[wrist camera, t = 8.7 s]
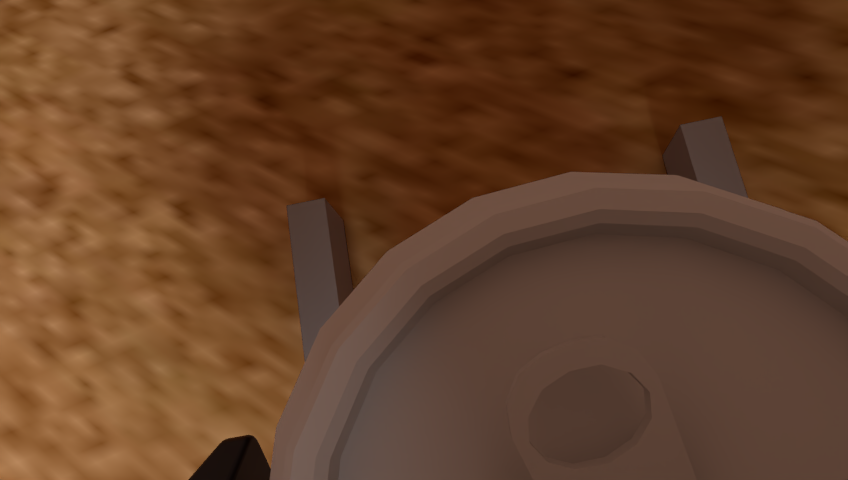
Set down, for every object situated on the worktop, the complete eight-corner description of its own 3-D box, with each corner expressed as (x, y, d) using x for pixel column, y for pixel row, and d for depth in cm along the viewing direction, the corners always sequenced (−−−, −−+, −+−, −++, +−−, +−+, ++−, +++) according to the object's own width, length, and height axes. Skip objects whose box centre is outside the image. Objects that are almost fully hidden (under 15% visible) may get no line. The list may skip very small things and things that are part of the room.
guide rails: (835, 589, 15) (882, 613, 13) (364, 660, 16) (344, 693, 14) (699, 148, 18) (721, 116, 16) (308, 227, 19) (286, 205, 17)
